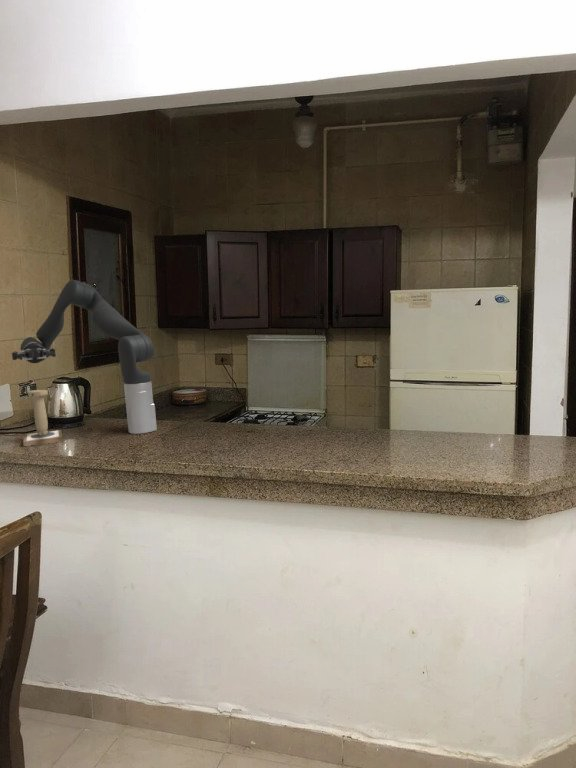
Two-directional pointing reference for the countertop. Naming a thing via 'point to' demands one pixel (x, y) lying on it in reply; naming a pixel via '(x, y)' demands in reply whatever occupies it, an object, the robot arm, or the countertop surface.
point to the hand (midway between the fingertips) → (33, 355)
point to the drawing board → (42, 438)
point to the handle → (40, 411)
